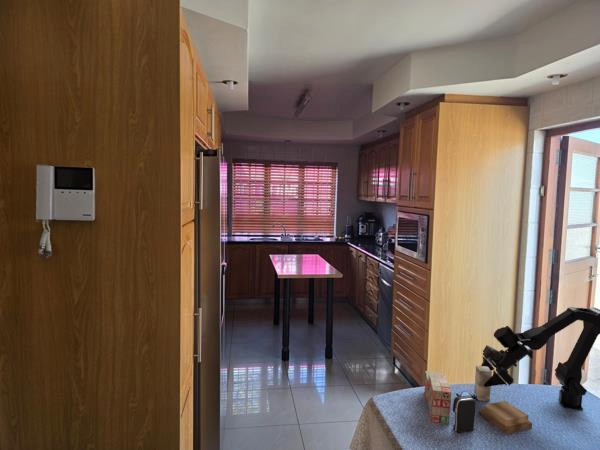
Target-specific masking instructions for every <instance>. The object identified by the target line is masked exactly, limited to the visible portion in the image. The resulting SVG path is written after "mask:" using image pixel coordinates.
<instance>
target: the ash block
mask: <svg viewBox="0 0 600 450" xmlns="http://www.w3.org/2000/svg"><path fill="white" fill-rule="evenodd" d="M492 371H493V370H492ZM492 371H491V370H490V369H489V367H487V366H481V365H475V375H474V379H475V380H474V389H473V390H474V393H475V394H476V396H477V398H478V400H477V401H485V402H491V401H490V399H491V391H492V390H491V387H492V386H489V387H485V386H484V383H485V382H486V381H487V380H488V379H489V378H490V377H491V376H493V372H492ZM474 393H473V394H474ZM476 396H475V397H476ZM477 398H476V399H477Z"/></svg>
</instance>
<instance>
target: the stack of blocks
mask: <svg viewBox="0 0 600 450" xmlns="http://www.w3.org/2000/svg"><path fill="white" fill-rule="evenodd" d="M450 387H451V386H450V384H449V381H448V378H447V376H446V375H443V374H442V372H440V371H433V370H432V371H430V370H425V372H424V397H425V400H426V405H427V409H428V415H429V419H430V422H431V423H433V424H435V423H437V424H444V425H450V417H451V416H450V413H451V407H452V406H451V402H452V399H451V398H452V390H451V388H450Z"/></svg>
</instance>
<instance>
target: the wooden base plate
mask: <svg viewBox="0 0 600 450" xmlns="http://www.w3.org/2000/svg"><path fill="white" fill-rule="evenodd" d="M478 416H479V417H481V418H482V419H484V420H485V421H486V422H488V423H489V424H490V425H492V426H493V427H495V428H496V429H497V430H499V431H500V432H502V433H503V434H505V435H509V434H513V433H516V432H521V431H525V430H528V429H531V428H533V422H532V421H530V420H529V419H528V422H526V423H522V424H518V425H513V426H509V427H505V426H504V425H502V424H501V423H499V422H498V421H496V420H495V419H494V418H492V417H491V416H489V415H488V414H486V413H485V412H484V408H483V409H481V410H480V409H479V410H478Z"/></svg>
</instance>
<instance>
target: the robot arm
mask: <svg viewBox="0 0 600 450" xmlns="http://www.w3.org/2000/svg"><path fill="white" fill-rule="evenodd" d="M577 321H581V322H583V323H582V324H583V325H582V326H583V327H582V330H581V332H580V334H579V336H578V338H577V341H576V343H575V345H574V347H573V348H572V350H571V352H570V354H569V356H568V359H567V360H566V361H565V362H561V361H559V362H558V364H557V367H556V368H555V369H554V376H555V378H556V380H558V382H559V384H560V385H561V388H560V389H559V392H558V401H559V402H560V404H561V405H562V406H563V408H568V409H574V410H581V411H583V410H584V407H583V405H582V403H583V396H586V394H587V392H588V390H587V389H586V388H585V387H584V386H583V385H582V383H581V382H582V379H583V372H582V370H583V369H582V368H583V366H584V364H585V362H586V360H587V358H588V356H589V354H590V352H591V350H592V348H593V346H594V345H595V342H596V340H597V338H598V336H599V335H600V309H599V308H597V307H590V308H585V307H575V306H569V307H567V308H566V310H564V311H562V312H561V313H559V314H558V315H556V316H555V317H553V318H552V319H550V320H548V321H547V322H546V323H543V324H542V325H540V326H536V327H532V328H529V329H527V330H525V331H523V332H514V331H513V330H512V328H511V327H510V326H509V325H506V326H503V327H500V328H497V329H495V331H494V333H493V338H495V340H497V342H499V343H500V345H502V347H503V348H505V350H504V349H500V350H497V349H496V348H493V347H492V346H489V345H485V347H484V348H483V349H482V363H481V365H480V366H487V367H489V369H490V370H491V371H493V372H492V376H491V377H490V378H489V379H488V380H487V381H486V382H485V383H484V386H485V387H489V386H491V387H494V386H495V387H496V386H502V385H505V386H507V385H508V386H511V385H513V383H514V380H515V379H514V378H513V377H512V376H511V374H510V372H509V371H508V370H510V369H511V368H512V367H515V368H516V367H517V366H518V364H517V363H518V362H520V361H521V360H522V359H524V358H525V357H526V356H528V357H529V358H530V359H534V357H533V353H534V351H538V350H541V349H542V348H544V346H545V345H546V344H547V343H548V341H549V339H551V338H552V337H553V336H554V335H556V334H557V333H560V332H561V331H562V330H564V329H566V328H567V327H568V326H571V325H573V324H574V323H575V322H577Z"/></svg>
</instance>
